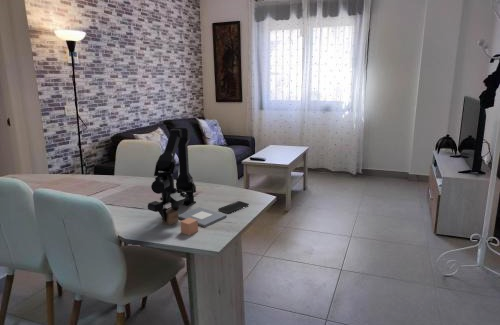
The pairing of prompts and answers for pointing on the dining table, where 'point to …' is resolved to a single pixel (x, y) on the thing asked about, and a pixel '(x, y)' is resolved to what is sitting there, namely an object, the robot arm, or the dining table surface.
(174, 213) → the walnut cube
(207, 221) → the board
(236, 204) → the phone
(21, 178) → the dining table surface
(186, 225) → the terracotta cube
